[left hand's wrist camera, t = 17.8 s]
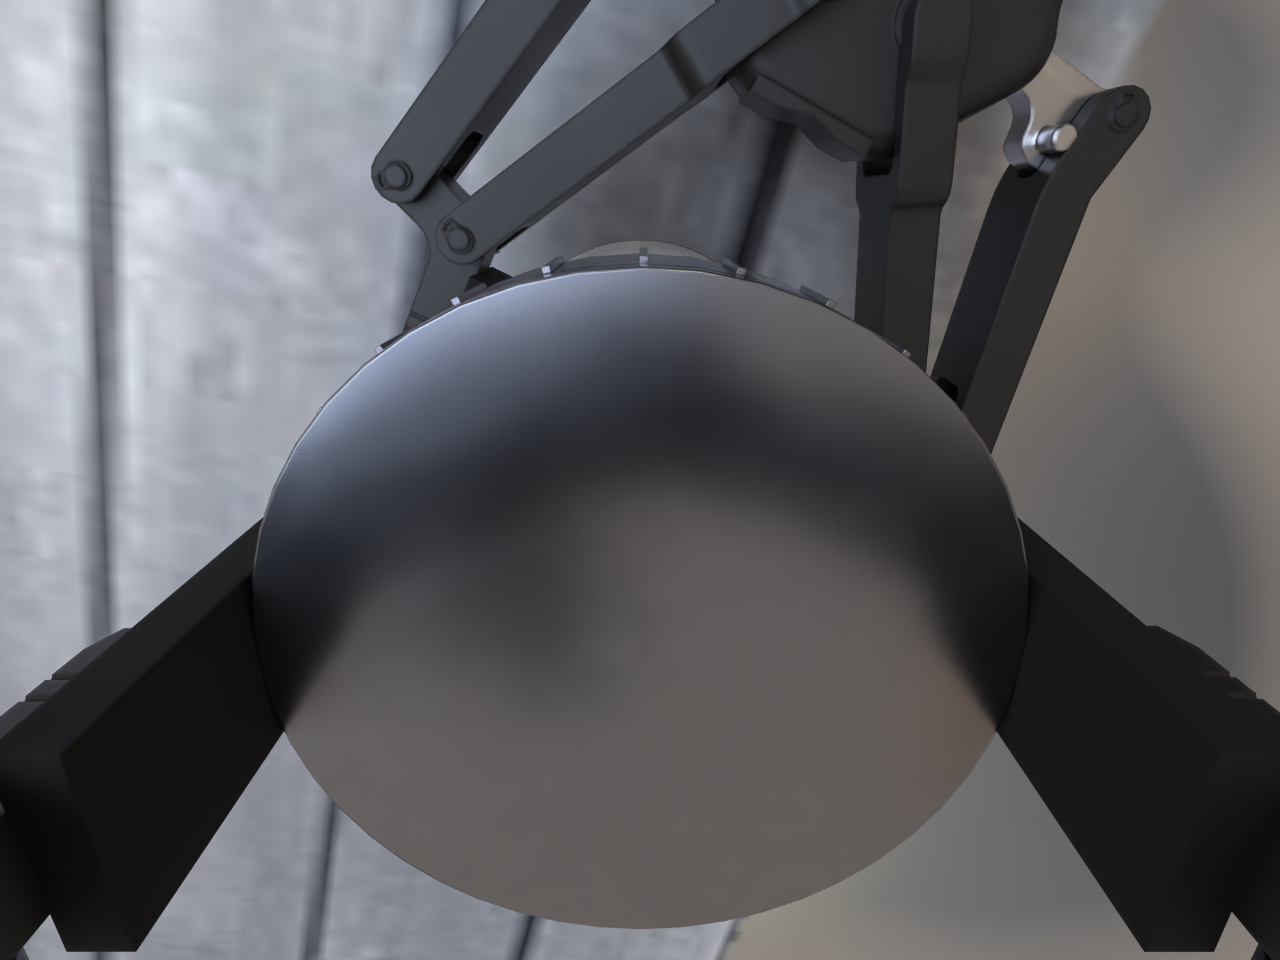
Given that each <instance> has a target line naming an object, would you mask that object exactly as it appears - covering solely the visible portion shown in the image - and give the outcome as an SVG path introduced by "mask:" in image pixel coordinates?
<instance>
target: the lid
mask: <svg viewBox="0 0 1280 960" xmlns="http://www.w3.org/2000/svg"><path fill="white" fill-rule="evenodd" d="M451 302H452V304H453V305H454V306H452V307H450V308H448V309H447V310H445V311H443V312H441V313H440V314H438V315H436V316H434V317H432V318H431V319H429V320H427V321H425V322H424V323H422V324H420V325H415V326H413V327H412V328H410V329H408V330H406V331H404V332H403V333H401V334H399V335H397V336H395V337H394V338H392V339H390V340H388V341H386V342H385V343H383V344H381V345H379V346H378V347H377V348H376V349H375V352H376V353H377V355H375V356H374V357H373V358H371V359H370V360H369V361H367V362H366V363H365V364H363V365H362V366H361V367H360V368H359V369H358V370H357V371H356V372H355V373H354V374H353V375H352V376H351V377H350V378H349V379H348V380H347V381H346V382H345V383H344V384H343V385H342V386H341V387H340V388H339V389H338V390H337V391H336V392H335V393H334V394H333V395H332V396H331V397H330V398H329V399H328V400H327V401H326V403H325V404H324V405H323V406H322V407H320V408H319V410H318V411H317V415H316V416H315V418H314V419H313V420H312V422H311V423H310V424H309V426H308V427H307V428H306V430H305V431H304V433H303V434H302V435H301V437H300V438H299V439H298V441H297V442H296V444H295V446H294V448H293V450H292V452H291V453H290V455H289V457H288V459H287V461H286V463H285V465H284V467H283V469H282V471H281V473H280V475H279V477H278V479H277V481H276V483H275V485H274V487H273V490H272V493H271V496H270V499H269V502H268V505H267V508H266V511H265V514H264V517H263V521H262V524H261V527H260V530H259V534H258V541H257V547H256V554H255V560H254V567H253V573H252V624H253V631H254V637H255V643H256V649H257V654H258V658H259V663H260V667H261V671H262V675H263V679H264V682H265V685H266V688H267V691H268V694H269V697H270V700H271V704H272V706H273V708H274V710H275V712H276V714H277V716H278V718H279V721H280V723H281V725H282V727H283V729H284V731H285V733H286V735H287V737H288V739H289V741H290V743H291V745H292V746H293V748H294V749H295V751H296V752H297V754H298V755H299V757H300V758H301V760H302V761H303V763H304V764H305V766H306V767H307V769H308V770H309V772H310V773H311V775H312V776H313V778H314V779H315V780H316V781H317V782H318V784H319V785H320V786H321V787H322V788H323V789H324V790H325V792H326V793H327V794H328V795H329V796H330V797H331V799H332V800H333V801H334V802H335V803H336V804H337V806H338V807H339V808H340V809H341V810H342V811H343V812H344V813H345V814H346V815H348V816H349V817H350V818H351V819H352V820H353V821H354V822H355V823H356V824H357V825H358V826H360V827H361V828H362V829H363V830H364V831H365V832H366V833H367V834H368V835H369V836H371V837H372V838H373V839H375V840H376V841H377V842H379V843H380V844H381V845H383V846H384V847H386V848H387V849H388V850H390V851H391V852H392V853H394V854H395V855H397V856H398V857H399V858H401V859H402V860H403V861H405V862H407V863H408V864H410V865H412V866H414V867H415V868H417V869H419V870H421V871H422V872H424V873H426V874H427V875H429V876H431V877H433V878H434V879H436V880H438V881H440V882H442V883H444V884H446V885H448V886H451V887H453V888H455V889H457V890H460V891H462V892H464V893H466V894H468V895H471V896H473V897H475V898H477V899H480V900H483V901H486V902H489V903H492V904H495V905H498V906H501V907H504V908H507V909H510V910H513V911H516V912H520V913H524V914H528V915H533V916H537V917H541V918H545V919H550V920H554V921H559V922H566V923H573V924H580V925H588V926H595V927H609V928H631V929H650V928H672V927H686V926H693V925H700V924H708V923H715V922H722V921H727V920H731V919H735V918H740V917H744V916H748V915H752V914H757V913H761V912H765V911H768V910H771V909H774V908H777V907H780V906H783V905H786V904H789V903H792V902H794V901H798V900H800V899H803V898H806V897H808V896H810V895H812V894H814V893H817V892H819V891H821V890H823V889H826V888H828V887H830V886H832V885H834V884H837V883H839V882H841V881H843V880H845V879H846V878H848V877H850V876H852V875H853V874H855V873H857V872H858V871H860V870H862V869H864V868H865V867H867V866H869V865H871V864H872V863H874V862H876V861H877V860H879V859H880V858H881V857H883V856H884V855H886V854H887V853H888V852H890V851H891V850H892V849H894V848H895V847H897V846H898V845H899V844H901V843H902V842H903V841H905V840H906V839H907V838H909V837H910V836H911V835H912V834H913V833H915V832H916V831H917V830H918V829H919V828H920V827H921V826H922V825H923V824H924V823H925V822H927V821H928V820H929V819H930V818H931V817H932V816H933V815H934V814H935V813H936V812H937V811H939V810H940V809H941V808H942V806H943V805H944V804H945V803H946V802H947V801H948V799H949V798H950V797H951V796H952V795H953V794H954V792H955V791H956V790H957V789H958V788H959V787H960V785H961V784H962V783H963V782H964V781H965V780H966V778H967V777H968V776H969V774H970V773H971V771H972V770H973V768H974V767H975V765H976V764H977V762H978V761H979V759H980V758H981V756H982V755H983V753H984V752H985V750H986V748H987V747H988V746H989V744H990V742H991V741H992V738H993V736H994V734H995V732H996V730H997V728H998V726H999V724H1000V722H1001V720H1002V718H1003V716H1004V714H1005V712H1006V709H1007V707H1008V705H1009V703H1010V699H1011V696H1012V693H1013V690H1014V687H1015V684H1016V681H1017V677H1018V673H1019V670H1020V666H1021V661H1022V657H1023V652H1024V647H1025V641H1026V634H1027V628H1028V622H1029V576H1028V569H1027V563H1026V556H1025V550H1024V543H1023V537H1022V531H1021V528H1020V525H1019V522H1018V519H1017V516H1016V513H1015V509H1014V506H1013V503H1012V500H1011V497H1010V494H1009V491H1008V488H1007V485H1006V483H1005V481H1004V480H1003V478H1002V476H1001V474H1000V472H999V470H998V468H997V466H996V464H995V462H994V460H993V458H992V456H991V454H990V452H989V450H988V449H987V447H986V445H985V443H984V441H983V440H982V439H981V437H980V436H979V434H978V433H977V432H976V430H975V429H974V428H973V426H972V425H971V424H970V422H969V421H968V420H967V416H966V415H965V413H964V412H962V411H961V410H960V409H959V407H958V406H957V405H956V403H955V402H954V401H953V400H952V399H951V398H950V397H949V396H948V395H947V394H946V393H945V392H944V391H943V390H942V389H941V388H940V387H939V386H938V385H937V384H936V383H935V382H934V381H933V380H932V379H931V378H930V377H929V376H928V375H927V374H926V373H925V372H924V371H923V370H922V369H921V368H920V367H919V366H918V365H917V364H916V363H915V362H913V361H912V360H911V359H909V357H910V356H911V353H909V352H908V351H907V350H906V349H904V348H902V347H901V346H899V345H897V344H895V343H893V342H892V341H890V340H888V339H886V338H885V337H883V336H881V335H879V334H877V333H876V332H874V331H872V330H870V329H868V328H866V327H864V326H862V325H861V324H859V323H857V322H855V321H853V320H852V319H850V318H848V317H846V316H845V315H843V314H841V313H839V312H838V311H836V310H834V309H833V308H834V306H835V305H836V302H834V301H832V300H830V299H828V298H826V297H824V296H822V295H820V294H818V293H817V292H815V291H813V290H811V289H809V288H807V287H805V286H803V285H802V286H801V287H800V289H799V291H798V290H797V289H795V288H793V287H791V286H789V285H787V284H785V283H783V282H780V281H777V280H774V279H771V278H769V277H766V276H763V275H760V274H758V273H755V272H752V271H749V270H746V269H745V268H744V267H742V266H741V265H739V264H738V263H736V262H735V261H733V260H732V259H729V258H725V257H724V258H723V262H722V263H718V262H714V261H709V260H704V259H699V258H694V257H689V256H674V255H659V254H648V250H647V248H640V253H636V254H621V255H607V256H593V257H586V258H581V259H576V260H572V261H567V262H564V258H563V256H559V257H556V258H554V259H553V260H551V261H550V262H548V263H547V264H546V265H544V266H543V267H540V268H537V269H534V270H531V271H529V272H526V273H523V274H520V275H517V276H515V277H512V278H509V279H506V280H504V281H501V282H498V283H495V284H493V285H491V286H490V287H488V288H487V287H486V285H485V283H482V284H480V285H478V286H476V287H474V288H472V289H470V290H468V291H466V292H464V293H462V294H460V295H458V296H457V297H455V298H453V299H451Z"/></svg>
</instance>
